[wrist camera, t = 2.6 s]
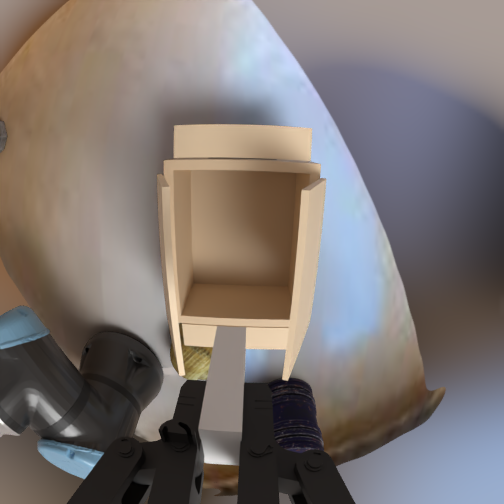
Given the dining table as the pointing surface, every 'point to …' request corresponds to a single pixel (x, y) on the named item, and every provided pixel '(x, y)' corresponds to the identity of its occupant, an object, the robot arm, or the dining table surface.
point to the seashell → (193, 359)
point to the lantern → (2, 135)
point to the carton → (237, 227)
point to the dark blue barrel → (295, 416)
